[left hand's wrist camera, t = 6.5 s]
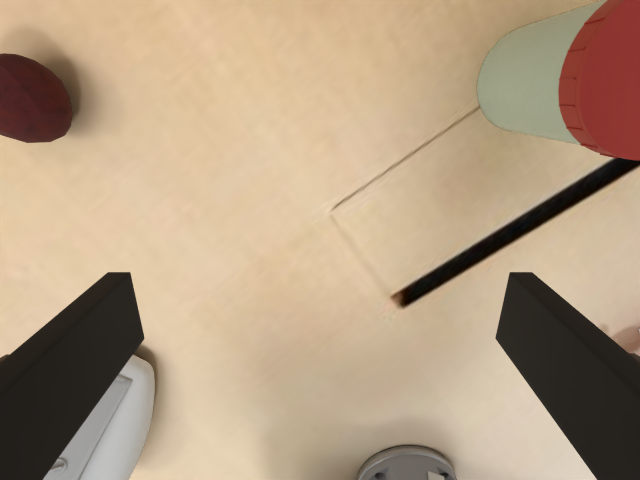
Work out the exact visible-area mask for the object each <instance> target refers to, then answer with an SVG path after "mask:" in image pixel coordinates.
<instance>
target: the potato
mask: <svg viewBox="0 0 640 480" xmlns="http://www.w3.org/2000/svg"><path fill="white" fill-rule="evenodd" d="M71 121H72V109H71V103H70V98H69V95H68V93H67V91H66V89H65V87H64V85H63V83H62V81H61V80H60V79H59V78H58V77H57V76H56V75H55V74H54V73H53V72H52V71H50V70H49V69H47V68H46V67H44V66H43V65H41V64H39V63H38V62H36V61H34V60H32V59H29V58H26V57H23V56H20V55H16V54H0V135H3V136H6V137H9V138H13V139H16V140H20V141H23V142H26V143H36V142H51V141H53V140H56V139H58V138H60V137H62V136H64V135H65V134H66V133H67V131H68V130H69V128H70V126H71Z"/></svg>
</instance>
